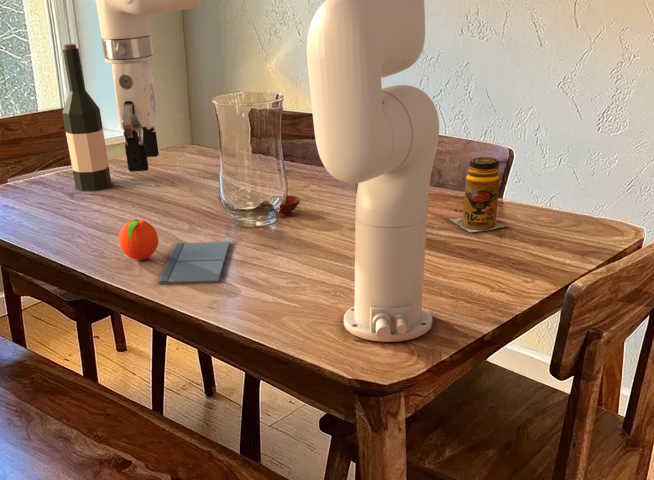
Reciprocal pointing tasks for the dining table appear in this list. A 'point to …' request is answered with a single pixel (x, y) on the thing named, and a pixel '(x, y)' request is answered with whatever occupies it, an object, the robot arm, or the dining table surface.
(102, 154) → the wine bottle
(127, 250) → the clementine
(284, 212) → the pottery
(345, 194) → the dining table surface
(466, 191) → the condiment
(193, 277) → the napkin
